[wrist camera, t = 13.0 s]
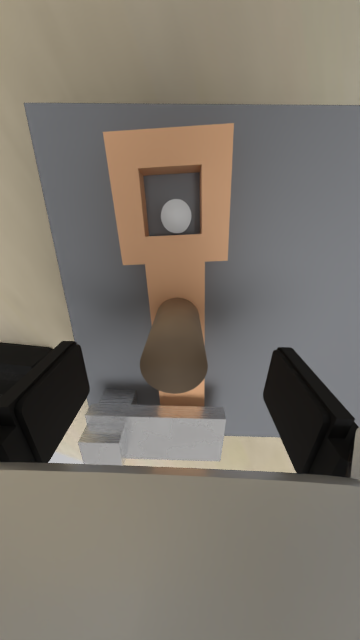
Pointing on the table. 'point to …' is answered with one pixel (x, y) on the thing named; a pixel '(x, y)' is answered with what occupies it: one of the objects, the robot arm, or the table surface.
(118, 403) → the keeper
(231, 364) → the pintle board
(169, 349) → the link
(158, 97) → the table surface
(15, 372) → the portable radio
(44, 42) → the table surface
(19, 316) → the table surface
